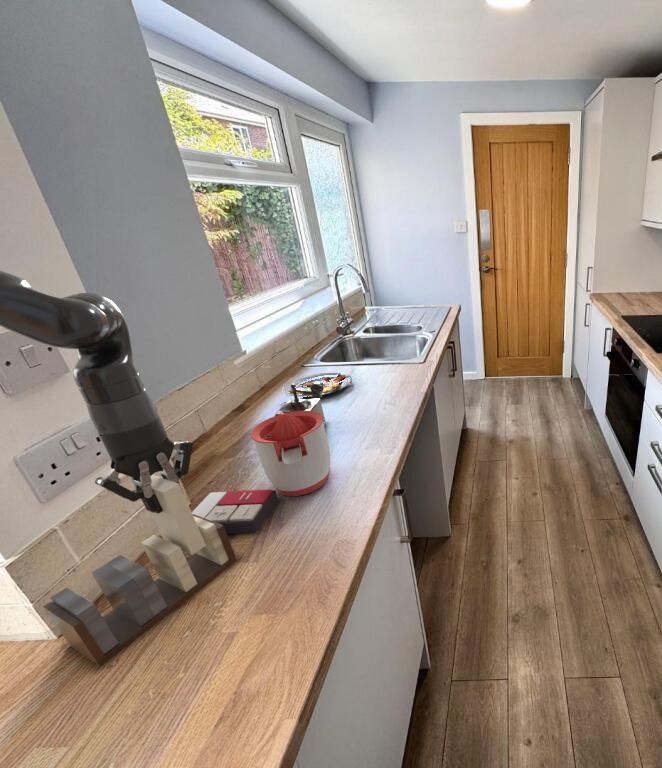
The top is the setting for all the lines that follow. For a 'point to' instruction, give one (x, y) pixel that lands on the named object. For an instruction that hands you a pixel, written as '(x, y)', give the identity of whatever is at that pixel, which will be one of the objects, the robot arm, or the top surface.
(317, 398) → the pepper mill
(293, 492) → the citrus juicer
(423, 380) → the top surface
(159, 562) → the book trough
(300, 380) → the food plate
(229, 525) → the calculator
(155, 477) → the pale book
